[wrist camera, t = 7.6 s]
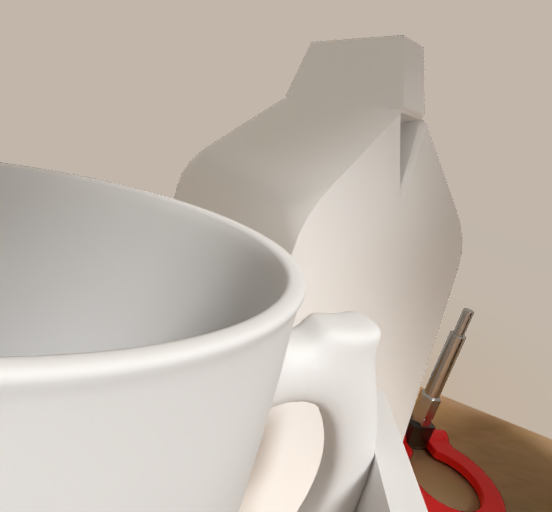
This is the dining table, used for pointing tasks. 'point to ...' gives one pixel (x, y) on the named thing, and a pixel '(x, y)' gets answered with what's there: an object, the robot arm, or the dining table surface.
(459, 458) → the tow hook
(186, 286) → the mug
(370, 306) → the milk
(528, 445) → the dining table surface
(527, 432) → the dining table surface
